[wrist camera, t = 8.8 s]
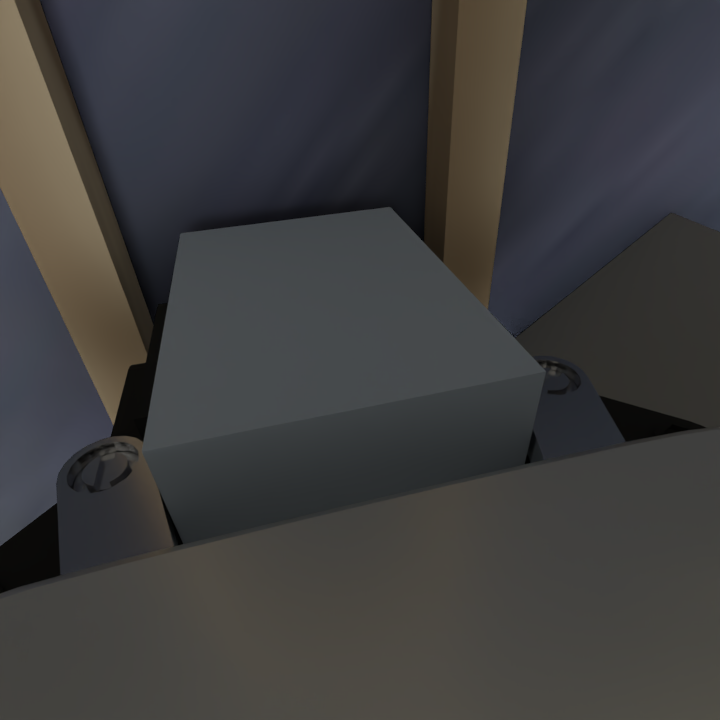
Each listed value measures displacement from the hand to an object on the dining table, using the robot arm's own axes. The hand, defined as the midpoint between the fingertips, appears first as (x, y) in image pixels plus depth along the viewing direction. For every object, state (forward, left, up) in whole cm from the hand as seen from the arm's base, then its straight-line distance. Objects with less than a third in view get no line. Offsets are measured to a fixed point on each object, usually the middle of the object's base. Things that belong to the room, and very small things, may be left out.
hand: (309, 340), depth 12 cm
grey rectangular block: (0, 0, -1) cm, 1 cm away
